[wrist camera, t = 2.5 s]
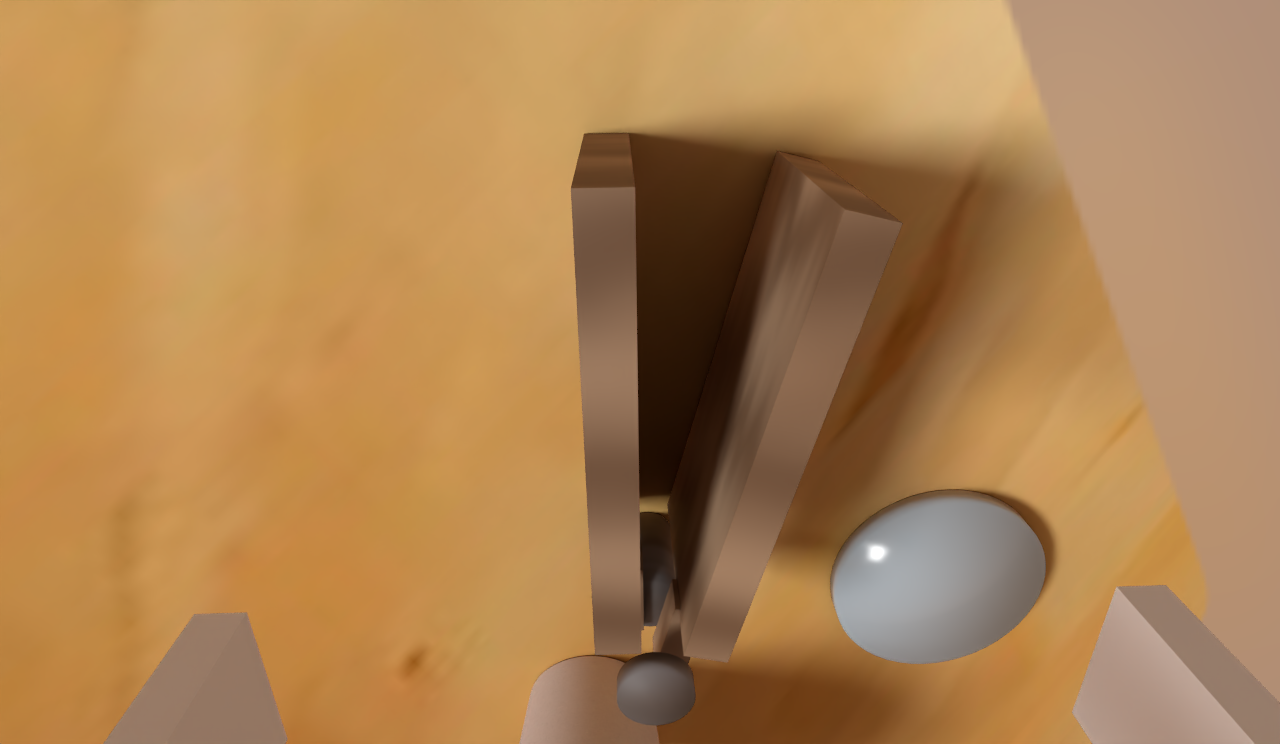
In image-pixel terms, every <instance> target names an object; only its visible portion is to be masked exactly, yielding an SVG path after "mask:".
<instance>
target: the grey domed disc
mask: <svg viewBox="0 0 1280 744" xmlns="http://www.w3.org/2000/svg"><path fill="white" fill-rule="evenodd" d="M1045 571H1046V562H1045V554H1044V551H1043V548H1042V545H1041V543H1040V541H1039V539H1038V537H1037V536H1036V534H1035V533H1034V532H1033V531H1032V529H1031V528H1030V527H1029V526H1028V524H1027V523H1026V522H1025V521H1024V519H1023V518H1022V517H1021V516H1020V515H1019V513H1018V512H1016V511H1015V510H1014V509H1013V508H1012V507H1011V506H1009V505H1007V504H1006V503H1004V502H1002V501H1001V500H999V499H996V498H994V497H992V496H989V495H986V494H982V493H978V492H973V491H966V490H941V491H933V492H927V493H922V494H918V495H915V496H911V497H908V498H905V499H903V500H900V501H898V502H895V503H893V504H891V505H889V506H888V507H886V508H884V509H882V510H880V511H879V512H877V513H876V514H874V515H873V516H871V517H870V518H868V519H867V520H866V521H865V522H864V523H862V524H861V525H860V526H859V527H858V528H857V529H856V530H855V531H854V532H853V533H852V534H851V535H850V537H849V538H848V539H847V541H846V542H845V543H844V545H843V546H842V548H841V550H840V551H839V553H838V555H837V557H836V560H835V562H834V565H833V568H832V573H831V578H830V591H831V598H832V601H833V604H834V607H835V610H836V613H837V616H838V618H839V621H840V623H841V625H842V627H843V629H844V630H845V632H846V633H847V634H848V636H849V637H850V638H851V639H852V640H853V641H854V642H855V643H856V644H857V645H859V646H860V647H861V648H863V649H864V650H866V651H868V652H870V653H872V654H874V655H876V656H878V657H881V658H884V659H887V660H891V661H896V662H901V663H910V664H926V663H937V662H943V661H949V660H953V659H956V658H960V657H963V656H966V655H969V654H972V653H974V652H977V651H979V650H981V649H983V648H985V647H987V646H989V645H991V644H992V643H994V642H996V641H998V640H999V639H1000V638H1002V637H1003V636H1005V635H1006V634H1007V633H1009V632H1010V631H1011V630H1012V629H1013V628H1014V627H1016V626H1017V625H1018V624H1019V623H1020V622H1021V621H1022V620H1023V618H1024V617H1025V616H1026V615H1027V614H1028V612H1029V611H1030V610H1031V608H1032V607H1033V606H1034V604H1035V602H1036V600H1037V598H1038V597H1039V594H1040V592H1041V589H1042V587H1043V583H1044V579H1045Z"/></svg>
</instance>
